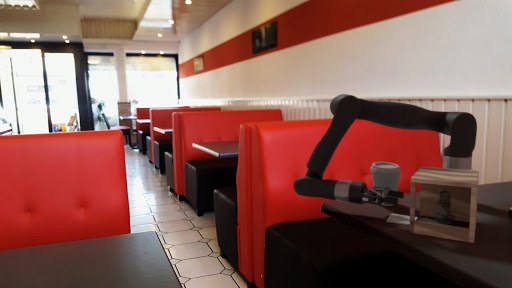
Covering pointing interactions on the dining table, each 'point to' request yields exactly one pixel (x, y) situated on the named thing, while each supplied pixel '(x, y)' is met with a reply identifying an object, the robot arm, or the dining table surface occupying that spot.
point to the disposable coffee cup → (386, 176)
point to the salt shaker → (444, 209)
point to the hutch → (461, 199)
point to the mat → (400, 219)
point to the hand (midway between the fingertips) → (401, 198)
